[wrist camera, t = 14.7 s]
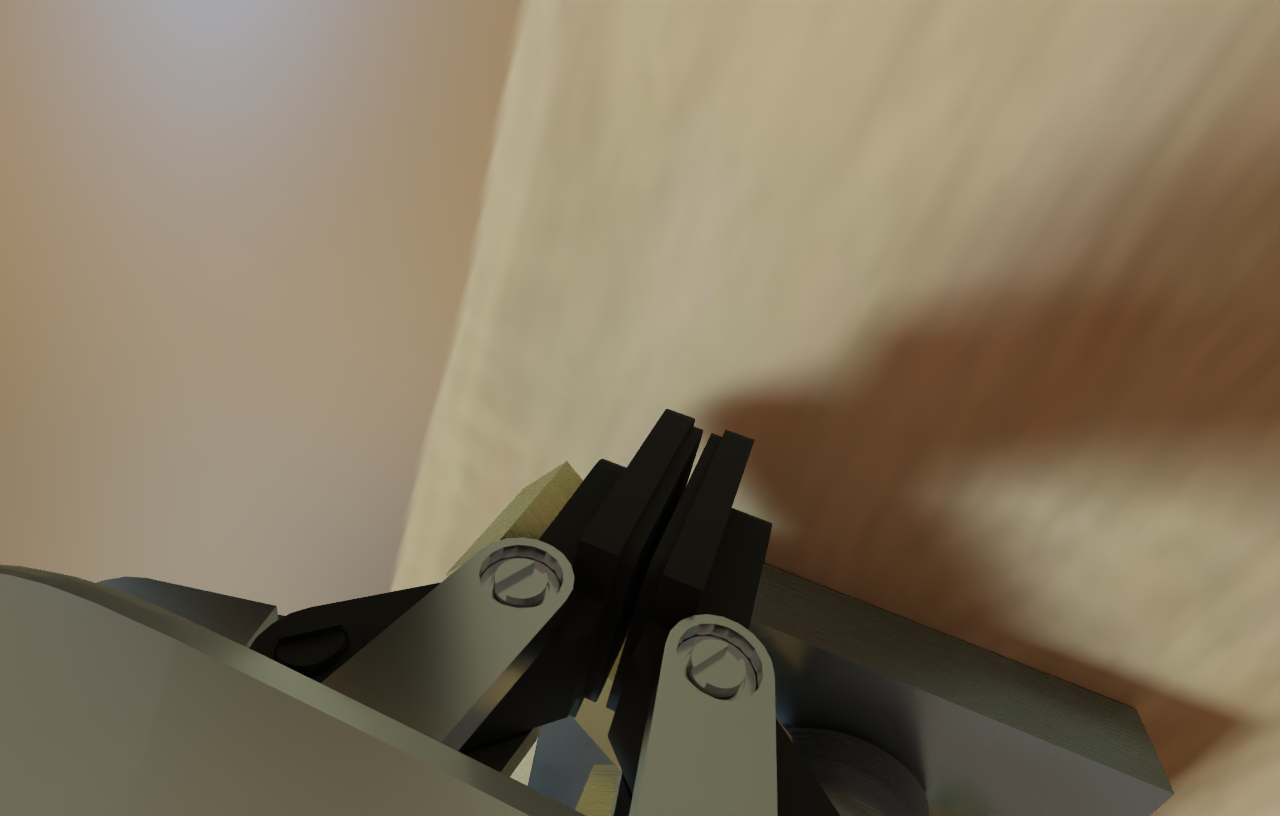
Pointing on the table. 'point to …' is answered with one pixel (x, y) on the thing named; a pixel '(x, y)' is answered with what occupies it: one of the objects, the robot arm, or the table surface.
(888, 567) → the table surface
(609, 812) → the knob
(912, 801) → the knob
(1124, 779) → the control panel
